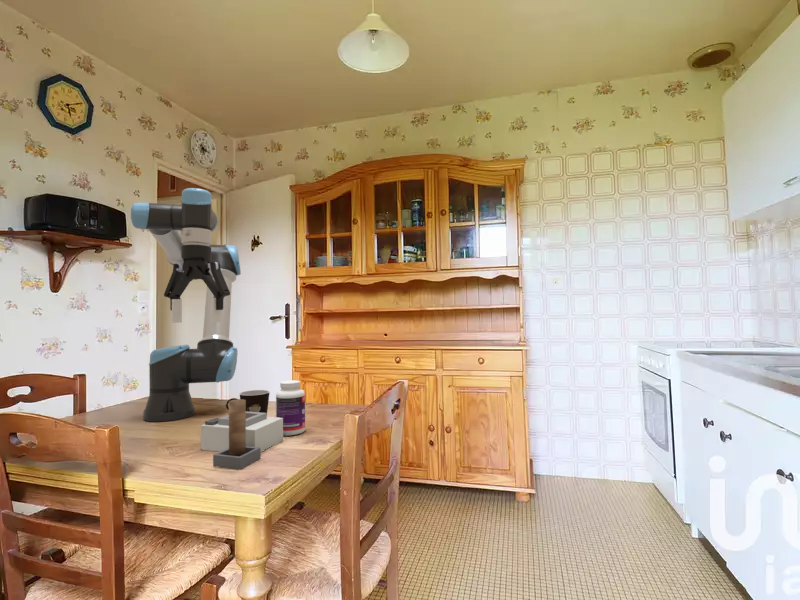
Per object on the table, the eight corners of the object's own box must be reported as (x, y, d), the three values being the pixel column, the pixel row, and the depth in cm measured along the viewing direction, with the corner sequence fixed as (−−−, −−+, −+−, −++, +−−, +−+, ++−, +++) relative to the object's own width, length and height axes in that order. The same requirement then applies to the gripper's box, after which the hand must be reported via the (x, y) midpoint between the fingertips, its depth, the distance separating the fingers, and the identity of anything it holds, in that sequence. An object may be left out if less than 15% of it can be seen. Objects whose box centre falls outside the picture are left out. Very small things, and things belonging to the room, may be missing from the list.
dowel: (225, 464, 94) (225, 402, 95) (236, 458, 98) (236, 398, 98) (238, 465, 93) (238, 403, 94) (249, 460, 97) (248, 399, 97)
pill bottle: (308, 434, 117) (308, 382, 117) (279, 438, 113) (278, 385, 114) (301, 427, 124) (301, 378, 125) (273, 430, 121) (273, 380, 121)
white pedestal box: (200, 449, 105) (200, 419, 105) (233, 435, 116) (233, 408, 117) (254, 455, 100) (254, 423, 100) (283, 440, 112) (282, 412, 112)
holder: (213, 466, 93) (213, 455, 93) (234, 455, 100) (234, 445, 100) (240, 469, 91) (240, 458, 91) (260, 458, 98) (260, 447, 98)
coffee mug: (274, 422, 130) (274, 390, 130) (262, 430, 122) (262, 395, 122) (238, 421, 131) (238, 389, 132) (224, 429, 123) (224, 395, 123)
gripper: (149, 246, 115) (149, 323, 115) (224, 240, 108) (224, 322, 108) (171, 250, 123) (171, 322, 122) (243, 245, 115) (243, 321, 115)
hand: (196, 322), depth 115 cm, fingers open, 13 cm apart
